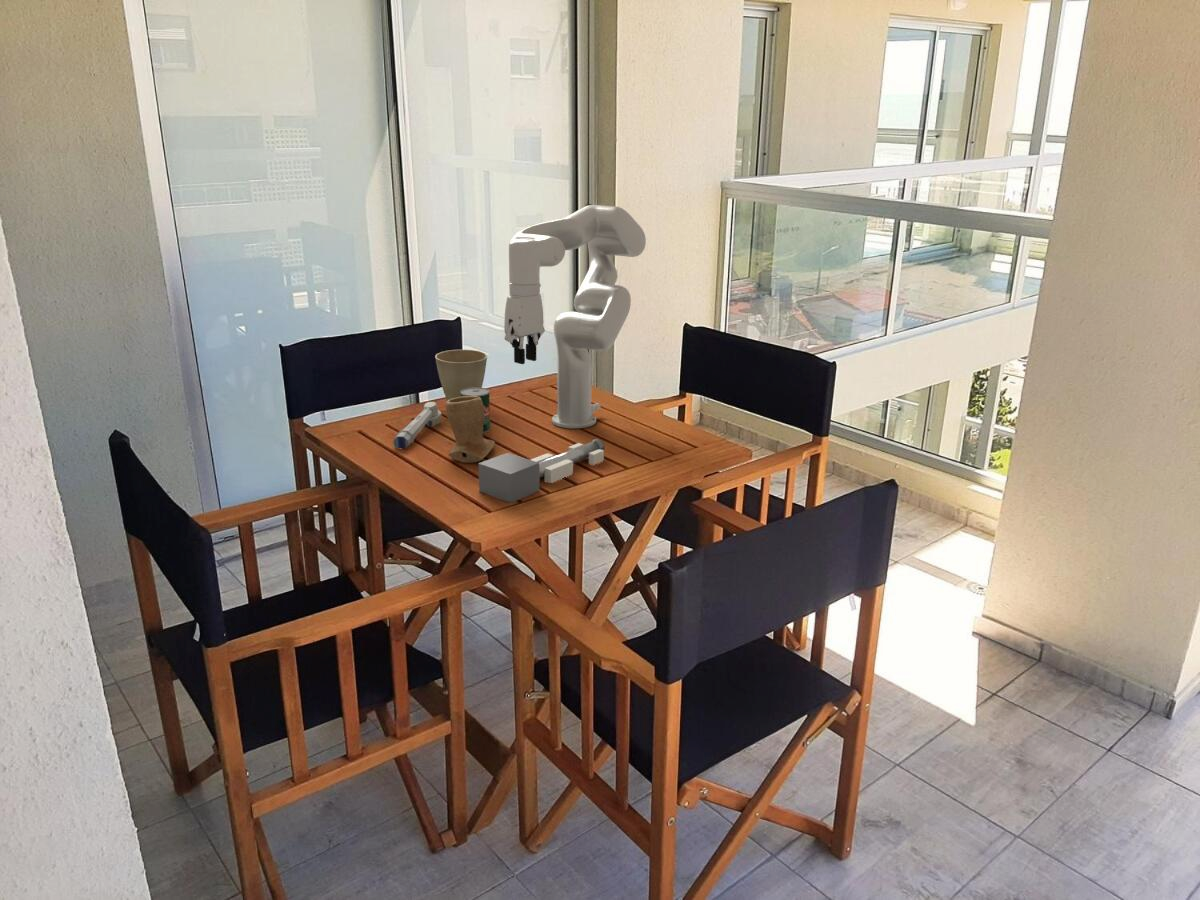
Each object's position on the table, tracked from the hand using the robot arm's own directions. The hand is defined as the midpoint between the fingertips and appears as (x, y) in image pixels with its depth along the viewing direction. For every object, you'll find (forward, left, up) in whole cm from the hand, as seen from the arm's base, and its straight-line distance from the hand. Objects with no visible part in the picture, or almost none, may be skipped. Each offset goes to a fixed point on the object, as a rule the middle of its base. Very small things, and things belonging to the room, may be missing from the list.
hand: (525, 360), depth 239 cm
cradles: (+5, +18, -23) cm, 30 cm away
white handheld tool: (+12, -29, -24) cm, 39 cm away
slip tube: (+4, +18, -23) cm, 29 cm away
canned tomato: (-1, -20, -23) cm, 31 cm away
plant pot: (-12, -37, -23) cm, 45 cm away
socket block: (+24, +18, -23) cm, 38 cm away
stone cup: (+14, -7, -24) cm, 28 cm away
